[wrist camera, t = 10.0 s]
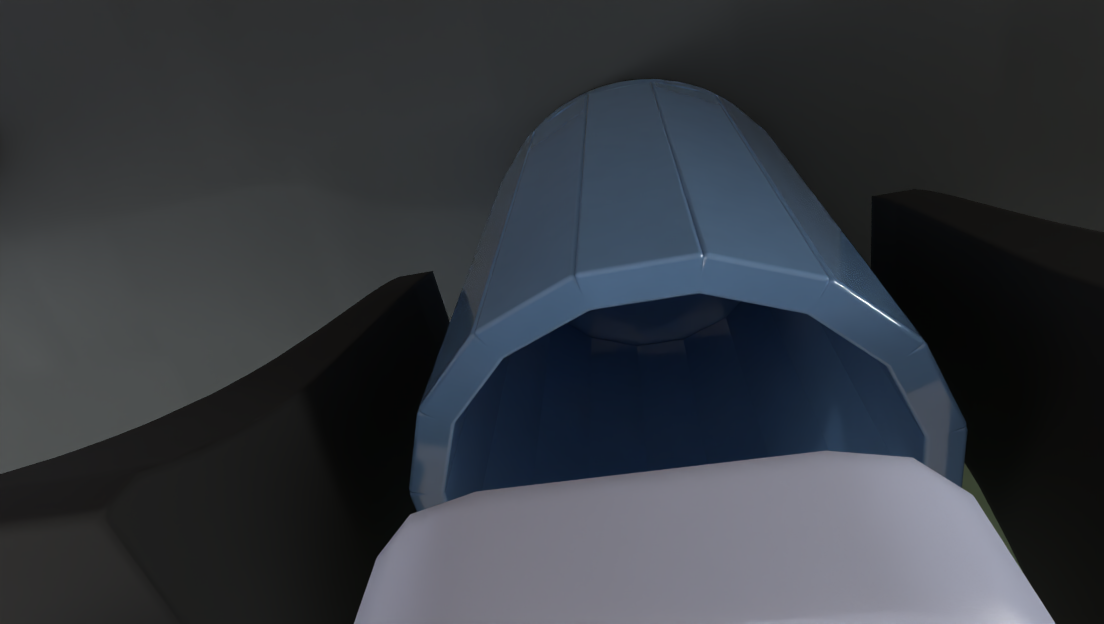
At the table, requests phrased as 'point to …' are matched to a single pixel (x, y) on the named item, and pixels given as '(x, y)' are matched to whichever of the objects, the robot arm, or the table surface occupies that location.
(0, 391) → the table surface
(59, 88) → the table surface
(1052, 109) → the table surface
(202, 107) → the table surface
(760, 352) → the cup
